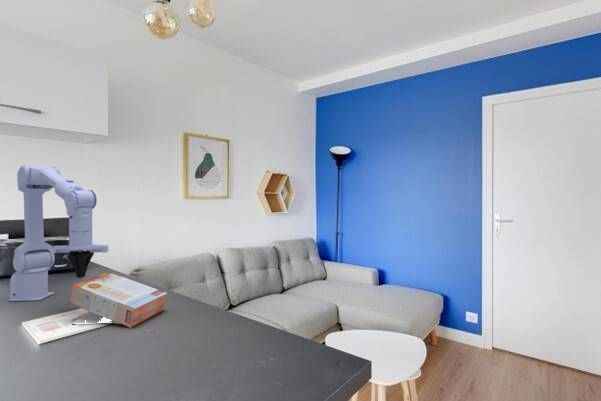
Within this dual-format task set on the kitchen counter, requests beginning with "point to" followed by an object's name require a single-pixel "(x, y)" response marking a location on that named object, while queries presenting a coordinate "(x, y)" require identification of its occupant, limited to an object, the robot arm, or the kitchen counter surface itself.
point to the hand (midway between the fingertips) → (80, 277)
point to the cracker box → (118, 299)
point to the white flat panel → (90, 318)
